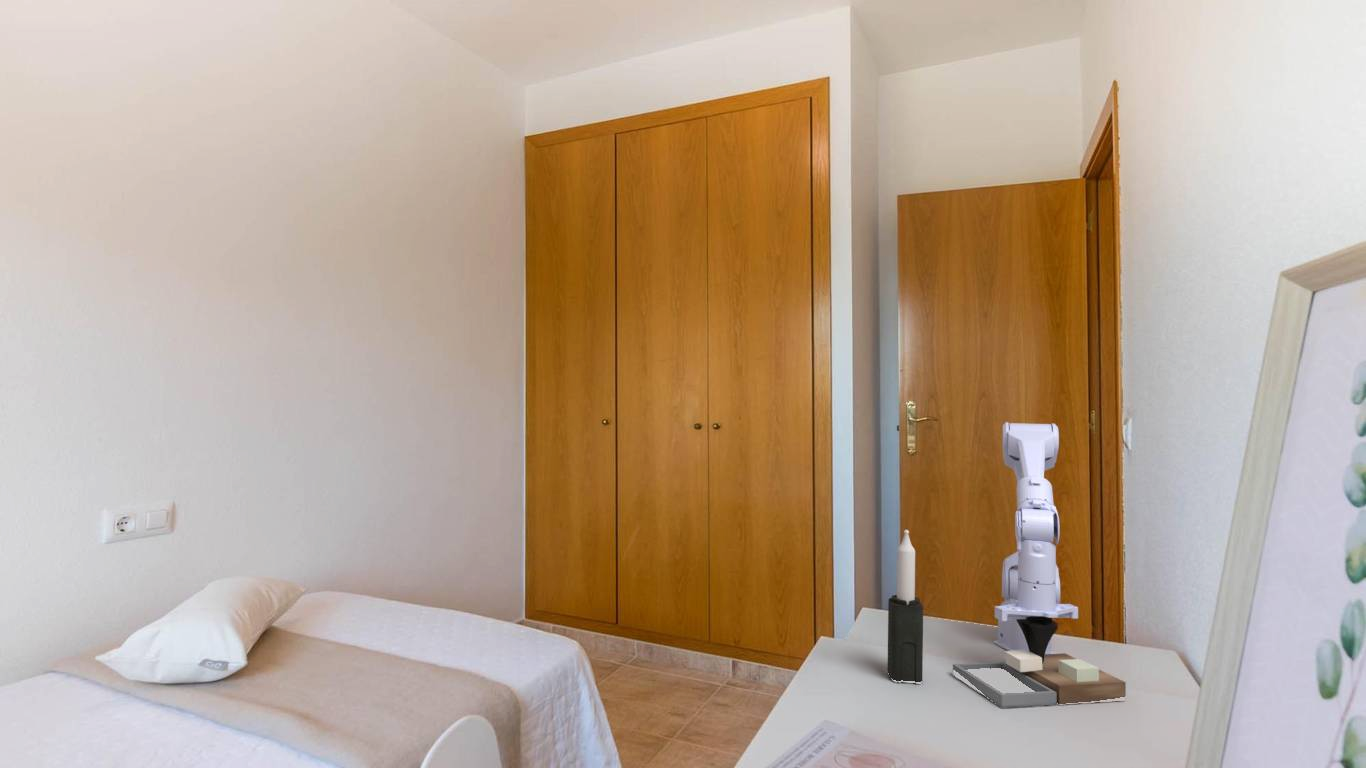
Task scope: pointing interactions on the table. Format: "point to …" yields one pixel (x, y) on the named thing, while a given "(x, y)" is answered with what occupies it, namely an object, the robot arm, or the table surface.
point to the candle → (905, 620)
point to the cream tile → (1023, 660)
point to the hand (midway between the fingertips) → (1036, 662)
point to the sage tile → (1078, 670)
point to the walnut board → (1076, 683)
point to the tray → (1009, 700)
